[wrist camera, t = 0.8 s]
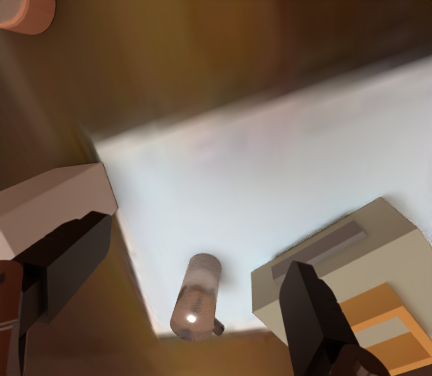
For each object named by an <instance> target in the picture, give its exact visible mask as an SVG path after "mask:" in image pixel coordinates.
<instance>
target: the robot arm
mask: <svg viewBox="0 0 432 376" xmlns="http://www.w3.org/2000/svg"><path fill="white" fill-rule="evenodd" d="M111 223H112V217H111V215H110V214H105V213H101V212H97V211H90V212H89V213H88V214H86V215H85V216H84V217H82V218H81V219H73V220H71V221H68V222H65V223H63V224H61V225H60V226H58V227H57V228H55V229H54V230H53V231H52V232H50V233H48V234H47V235H45V236H44V238H41V239H40V240H38V241H37V242H35V243H34V244H32V245H31V246H30V247H28V248H27V249H25V250H24V251H22V252H21V253H20V254H18V255H17V256H15V257H14V258H12V259H11V260H0V376H25V367H26V353H27V340H28V329H29V328H30V327H31V326H32V325H33V324H34V323H35V321H36V322H40V323H45V324H50V322H51V321H52V320H53V319H54V318H55V316H56V315H57V314H58V313H59V312H60V311H61V309H62V308H63V307H64V306H65V305H66V303H67V302H68V301H69V300H70V299H71V298H72V296H73V295H74V294H75V293H76V292H77V290H78V289H79V288H80V287H81V286H82V285H83V283H84V282H85V281H86V280H87V279H88V277H89V276H90V275H91V274H92V273H93V272H94V270H95V269H96V268H97V267H98V266H99V264H100V263H101V262H102V261H103V260H104V258H105V257H106V255H107V253H108V250H109V246H110V236H111ZM279 304H280V309H281V314H282V319H283V323H284V328H285V333H286V338H287V342H288V347H289V352H290V357H291V362H292V366H293V371H294V376H391V375H390V373H389V371H388V370H387V368H386V367H385V366H384V364H383V363H382V362H381V361H380V360H379V359H378V358H377V357H376V356H375V355H373V354H372V353H371V352H369V351H368V350H366V349H365V348H363V347H361V346H360V345H359V343H358V341H357V339H356V337H355V335H354V333H353V331H352V329H351V327H350V325H349V323H348V321H347V319H346V317H345V315H344V313H343V312H342V309H341V307H340V305H339V303H337V299H336V297H335V295H334V293H333V291H332V289H331V288H330V287H329V286H328V285H327V284H326V283H325V282H324V281H323V279H319V278H318V276H317V274H316V272H315V270H314V267H313V266H312V265H311V264H307V263H303V262H299V261H295V260H293V261H292V262H291V264H290V266H289V269H288V271H287V273H286V276H285V278H284V281H283V283H282V286H281V288H280V292H279Z"/></svg>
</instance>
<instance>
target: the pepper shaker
mask: <svg viewBox="0 0 432 376" xmlns="http://www.w3.org/2000/svg"><path fill="white" fill-rule="evenodd" d="M55 6H56V3H55V0H0V28H2V29H6V30H10V31H14V32H19V33H23V34H30V35H36V34H39V33H42V32H44V31H45V30H46V29H47V28H48V27H49V26H50V24H51V22H52V20H53V18H54V14H55Z"/></svg>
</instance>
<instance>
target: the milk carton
mask: <svg viewBox="0 0 432 376" xmlns="http://www.w3.org/2000/svg"><path fill="white" fill-rule="evenodd" d="M117 209H118V208H117V204H116V201H115V199H114V196H113V193H112V190H111V187H110V184H109V181H108V178H107V175H106V173H105V170H104V167H103V164H102V163H101V162H100V163H92V164H84V165H76V166H68V167H60V168H54V169H52V170H50V171H47V172H45V173H43V174H40V175H38V176H36V177H33V178H31V179H29V180H26V181H24V182H22V183H19V184H17V185H15V186H13V187H10V188H8V189H6V190H3V191H1V192H0V260H11V259H12V258H14V257H15V256H17V255H18V254H20V253H21V252H22V251H24V250H25V249H27V248H28V247H30V246H31V245H32V244H34V243H35V242H37V241H38V240H40V239H41V238H44V236H45V235H47V234H48V233H50V232H52V231H53V230H54V229H55V228H57V227H58V226H60V225H61V224H63V223H65V222H68V221H71V220H73V219H81V218H82V217H84V216H85V215H86V214H88V213H89V212H90V211H97V212H101V213H105V214H110V215H111V216H112V215H113V214H114V213H115V212H116V211H117Z"/></svg>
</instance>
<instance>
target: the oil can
mask: <svg viewBox="0 0 432 376" xmlns="http://www.w3.org/2000/svg"><path fill="white" fill-rule="evenodd" d="M220 273H221V264H220V262H219V261H218V259H217V258H216V257H214V256H212V255H210V254H206V253H200V254H197V255H195V256H193V257H192V258H191V259H190V261H189V264H188V267H187V270H186V274H185V277H184V280H183V283H182V286H181V289H180V292H179V295H178V299H177V302H176V305H175V308H174V311H173V314H172V317H171V320H170V326H171V329H172V330H173V332H174V333H175V334H176V335H177V336H179V337H181V338H183V339H185V340H188V341H202V340H205V339H207V338H208V337H210V336H211V334H212V332H214V333H215V334H216V335H218V336H219V335H221V334H222V333H223V331H224V325H223V324H222V323H221V322H219V321H218V320H217V319H216V318H215V310H216V303H217V295H218V288H219V280H220Z"/></svg>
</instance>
